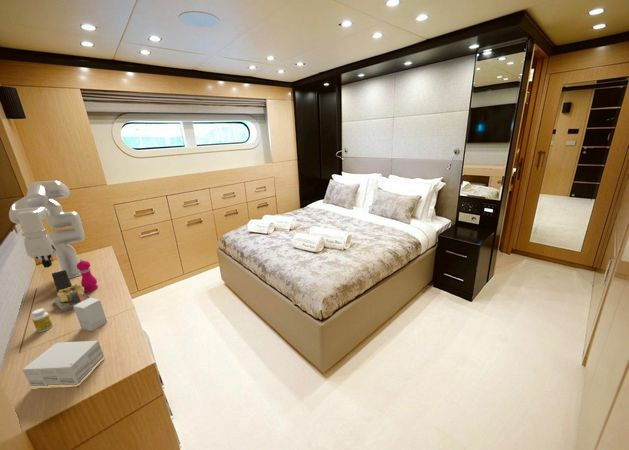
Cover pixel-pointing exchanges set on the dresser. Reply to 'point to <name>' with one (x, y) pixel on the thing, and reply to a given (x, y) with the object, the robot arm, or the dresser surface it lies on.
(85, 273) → the pepper mill
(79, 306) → the supplement box
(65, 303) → the flange base
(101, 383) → the dresser surface
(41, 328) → the supplement bottle
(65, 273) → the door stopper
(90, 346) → the supplement box
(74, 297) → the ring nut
